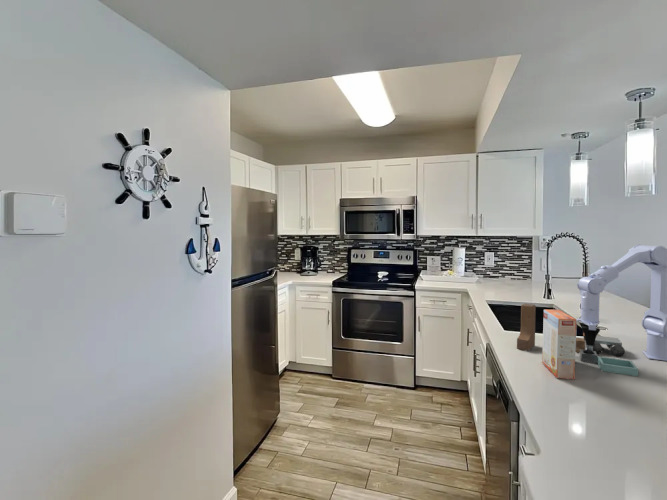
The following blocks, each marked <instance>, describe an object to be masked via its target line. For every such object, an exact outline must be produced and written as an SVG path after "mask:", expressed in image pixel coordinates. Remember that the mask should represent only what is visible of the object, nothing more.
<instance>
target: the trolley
mask: <svg viewBox="0 0 667 500" xmlns="http://www.w3.org/2000/svg"><path fill="white" fill-rule="evenodd" d="M602 345H606V346H607V348H608V349H609V351H610V353H611V354H612V355H613V356H614V357H617V358H619V357H620V358H621V357H623V356H624V355H625V353H626V350H625V348H624V347H623V343H622V342H621V340H620V339H619V338H618V337H610V336H604V335H603V336H601V335H597V336H596V339H595V342H594V345H593V351H596V353H597V355H598V354H601V353H602V352H603V350H604V349H603V346H602Z"/></svg>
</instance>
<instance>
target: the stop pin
mask: <svg viewBox="0 0 667 500" xmlns="http://www.w3.org/2000/svg"><path fill="white" fill-rule="evenodd" d="M583 335H584V333H583V332H582V336H583ZM584 336H585V335H584ZM584 336H583V337H584ZM585 352H586V353H589V354H592V353H593V346H589V345H586V341H585Z"/></svg>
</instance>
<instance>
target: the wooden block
mask: <svg viewBox="0 0 667 500" xmlns="http://www.w3.org/2000/svg"><path fill="white" fill-rule="evenodd" d="M535 346H536V304H532V303H523V304H521V305H520V332H519V336H518V337H517V338H516V349H518V350H521V351H526V352H527V351H530V350H531V349H532V348H534V347H535Z"/></svg>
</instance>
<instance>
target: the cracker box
mask: <svg viewBox="0 0 667 500" xmlns="http://www.w3.org/2000/svg"><path fill="white" fill-rule="evenodd" d="M542 323H543V324H542V325H543V326H542V327H543V328H542V329H543V330H542V354H541V356H542V359H541V360H542V361H541V363H542V364H543V365H544V366H545V367H546V368H547V369H548V371H550V373H551V374H552V376H554V377H555V378H556V379H567V380H575V378H576V377H575V373H576V370H575V369H576V352H575V351H576V338H577V331H576V325H578V324H577V323H578V321H577V318H574V317H572V316H571V315H569V314H567V313H565V312H564V311H563V310H560V309H543V322H542Z"/></svg>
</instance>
